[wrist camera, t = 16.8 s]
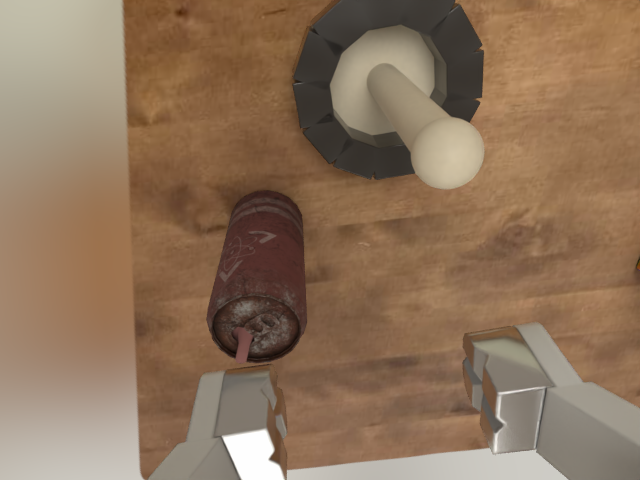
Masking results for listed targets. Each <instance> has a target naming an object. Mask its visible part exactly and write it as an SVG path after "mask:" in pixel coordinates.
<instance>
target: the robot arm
mask: <svg viewBox="0 0 640 480" xmlns="http://www.w3.org/2000/svg"><path fill="white" fill-rule="evenodd" d="M463 348H464V351H465V353H466V355H467V357H466V358H465V360H464V361H463V377H464V383H465V387H466V391H467V394H468V397H469V399H470V402H471V404H472V406H473V407H474V408H476V409H477V410H478V411H480V412H481V417H480V426H481V428H482V430H483V433H484V435H485V437H486V440H487V442H488V444H489V447H490V449H491V451H492V454H502V453H510V452H518V451H528V450H536V449H537V451H536V452H537V453H538V454H539V455H541V456H542V457H543V458H544V459H545V460H546V461H548V462H549V463H550V464H551V465H552V466H553V467H555V468H556V469H557V470H558V471H559V472H561V473H562V474H563V475H564V476H565V477H566V478H567V479H569V480H640V408H639V407H637V406H635V405H633V404H632V403H630V402H628V401H626V400H624V399H622V398H621V397H619V396H617V395H615V394H613V393H611V392H610V391H608V390H606V389H604V388H602V387H601V386H599V385H597V384H595V383H593V382H585V383H584V382H583V381H582V379H581V378H580V377H579V375H578V374H577V372H576V371H575V370H574V368H573V367H572V366H571V364H570V363H569V361H568V360H567V359H566V357H565V356H564V355H563V353H562V352H561V350H560V349H559V348H558V346H557V345H556V344H555V342H554V341H553V339H552V338H551V337H550V335H549V334H548V333H547V331H546V330H545V328H544V327H543V326H542V325H541V324H540V323H538V322H532V323H526V324H520V325H514V326H507V327H501V328H495V329H489V330H483V331H477V332H471V333H465V334H464V337H463ZM286 435H287V415H286V405H285V400H284V396H283V392H282V389H280V388H279V387H277V372H276V370H275V367H274V365H273V364H267V365H259V366H251V367H243V368H235V369H228V370H223V371H216V372H208V373H204V374H203V375H202V377H201V378H200V380H199V385H198V389H197V393H196V398H195V402H194V407H193V411H192V415H191V420H190V424H189V428H188V433H187V437H186V441H185V442H183V443H178V444H177V445H176V446H175V448H174V449H173V450H172V451H171V452H170V453H169V455H168V456H167V457H166V458H165V459H164V460H163V462H162V463H161V464H160V465H159V466H158V467H157V469H156V470H155V471H154V472H153V473H152V474H151V475H150V477H149V478H148V479H147V480H287V452H286V449H285V446H284V442H283V439H284V438H285V436H286Z"/></svg>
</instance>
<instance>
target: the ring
mask: <svg viewBox="0 0 640 480" xmlns="http://www.w3.org/2000/svg"><path fill="white" fill-rule="evenodd" d="M311 24H312V26H313V28H312V27H309V26H307V28H306V31H305V34H304V37H303V40H302V43H301V46H300V49H299V52H298V55H297V58H296V61H295V64H294V67H293V76H292V80H293V90H294V96H295V101H296V107H297V112H298V118H299V123H300V128H303V134H304V135H305V136H306V137H307V139H308V140H309V141H310V142H311V143H312V144H313V146H314V147H315V148H316V149H317V150H318V151H319V153H320V154H321V155H322V156H323V157H324V158H325V160H326V161H327V162H328V163H329V164H330V163H332V162H333V166H334V167H336V168H339V169H341V170H344V171H347V172H350V173H353V174H356V175H359V176H362V177H365V178H367V179H371V178H372V176H374V178H375V180H378V179H384V178H390V177H396V176H402V175H408V174H414V173H415V171H414V168H413V166H412V163H411V152H410V151H409V149H408V148H407V146H406V145H405V144H404V142H403V141H402V139H401V138H400V136H399V135H398V133H397V132H396V131H395V132H389V133H383V134H377V135H370V134H367V133H365V132H362V131H359V130H357V129H354V128H351V127H349V126H347V125H346V123H345V122H344V121H343V120H342V118H341V117H340V116H339V114H338V113H337V112H336V111H335V109H334V108H333V103H332V96H331V88H330V84H331V81H332V78H333V76H334V73H335V70H336V68H337V65H338V63H339V60H340V57H341V55H342V53H343V52H344V51H345V50H346V49H347V48H349V47H350V46H351V45H352V44H353V43H354V42H356V41H357V40H358V39H359V38H360V37H361V36H363V35H364V34H365V33H366V32H367V31H369V30H374V29H380V28H386V27H391V26H397V25H403V26H405V27H407V28H409V29H412V30H414V31H416V32H418V33H419V34H420V35H421V37H422V39H423V40H424V42H425V43H426V45H427V47H428V48H429V50H430V52H431V53H432V55H433V56H434V78H435V87H434V89H433V91H432V93H431V95H430V97H429V98H431V99H432V100H433V101H434V102H435V103H436V104H437V105H438V106H440V107H441V108H442V109H443V110H444V111H445V112H446V113H447V114H449V115H450V116H451V117H454V118H459V119H463V120H465V121H467V122H469V123H470V121H471V119H472V117H473V115H474V114H475V112H476V110H477V108H478V106H479V105H480V102H479V101H478V100H476V98H481V97H482V85H483V58H484V51H483V50H481V49H478V48H480V47H481V46H482V43H481V41H480V39H479V37H478V36H477V34H476V32H475V30H474V28H473V27H472V25H471V23H470V21H469V19H468V18H467V16H466V14H465V12H464V10H463V9H462V7H461V5H460V4H457V3H455V0H333V1H332V2H331V3H330V4H329V5H328V6H327V7H325V8H324V9H323V10H322V11H321V12H320V13H319V14H318V15H317V16H316V17H314V18H313V19H312V20H311Z"/></svg>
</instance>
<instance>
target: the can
mask: <svg viewBox="0 0 640 480" xmlns="http://www.w3.org/2000/svg"><path fill="white" fill-rule="evenodd" d="M206 320H207V323H208V327H209V331H210V333H211V335H212V339H213V341H214V342H215V344H216V345H217V346H218V348H219V349H220V350H221V351H223V352H224V353H225V354H227V355H228V356H230V357H232V358H234V359H235V361H236V362H237V363H245V362H250V363H263V362H271V361H274V360H277V359H279V358H282V357H284V356H285V355H287V354H288V353H289V352H291V351H292V350H293V349H294V347H295V346H296V345H297V344H298V342H299V339H300V338H301V336H302V335H303V334H304V331H305V327H306V324H307V309H306V287H305V264H304V242H303V223H302V215H301V213H300V211H299V209H298V207H297V205H296V204H295V203H294V202H293V201H292V200H291V199H290V198H288V197H286V196H284V195H283V194H281V193H278V192H273V191H257V192H254V193H251V194H249V195H246V196H245V197H244V198H242V199H241V200H240V201H239V202H238V203H237V204H236V206H235V208H234V209H233V211H232V214H231V218H230V222H229V226H228V230H227V234H226V238H225V242H224V246H223V250H222V254H221V258H220V262H219V266H218V270H217V274H216V278H215V282H214V286H213V290H212V294H211V298H210V302H209V306H208V312H207V319H206Z"/></svg>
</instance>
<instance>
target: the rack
mask: <svg viewBox="0 0 640 480" xmlns="http://www.w3.org/2000/svg"><path fill="white" fill-rule="evenodd" d="M311 27H312V28H313V26H312V24H311ZM434 87H435V78H434V56H433V55H432V53H431V52H430V50H429V48H428V47H427V45H426V43H425V42H424V40H423V39H422V37H421V35H420V34H419V33H418V32H416V31H414V30H412V29H409V28H407V27H405V26H403V25H397V26H391V27H386V28H380V29H374V30H369V31H367V32H366V33H365V34H364V35H363V36H361V37H360V38H359V39H358V40H357V41H356V42H354V43H353V44H352V45H351V46H350V47H349V48H347V49H346V50H345V51H344V52H343V53H342V55H341V57H340V60H339V63H338V65H337V68H336V70H335V73H334V76H333V78H332V81H331V84H330V88H331V96H332V103H333V108H334V109H335V111H336V112H337V113H338V114H339V116H340V117H341V118H342V120H343V121H344V122H345V123H346V125H347V126H349V127H351V128H354V129H357V130H359V131H362V132H365V133H367V134H370V135H377V134H383V133H389V132H395V131H396V132H397V133H398V135H399V136H400V138H401V139H402V141H403V142H404V144H405V145H406V146H407V148H408V149H409V151H410V152H411V163H412V166H413V168H414V171H415V173H416V174H417V176H418V177H419V178H420V179H421V180H422V181H423V182H424V183H426V184H428V185H429V186H432V187H434V188H438V189H453V188H457V187H460V186H462V185H464V184H466V183H468V182H469V181H470V180H471V179H472V178H473V177H474V176H475V175H476V174H477V173H478V171H479V170H480V168H481V165H482V163H483V159H484V143H483V140H482V137H481V135H480V133H479V132H478V131H477V129H476V128H475V127H474V126H473V125H471V124H470V123H469V122H467V121H465V120H463V119H459V118H454V117H451V116H450V115H449V114H447V113H446V112H445V111H444V110H443V109H442V108H441V107H440V106H438V105H437V104H436V103H435V102H434V101H433V100H432V99H431V98H429V97H430V95H431V93H432V91H433V89H434Z"/></svg>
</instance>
